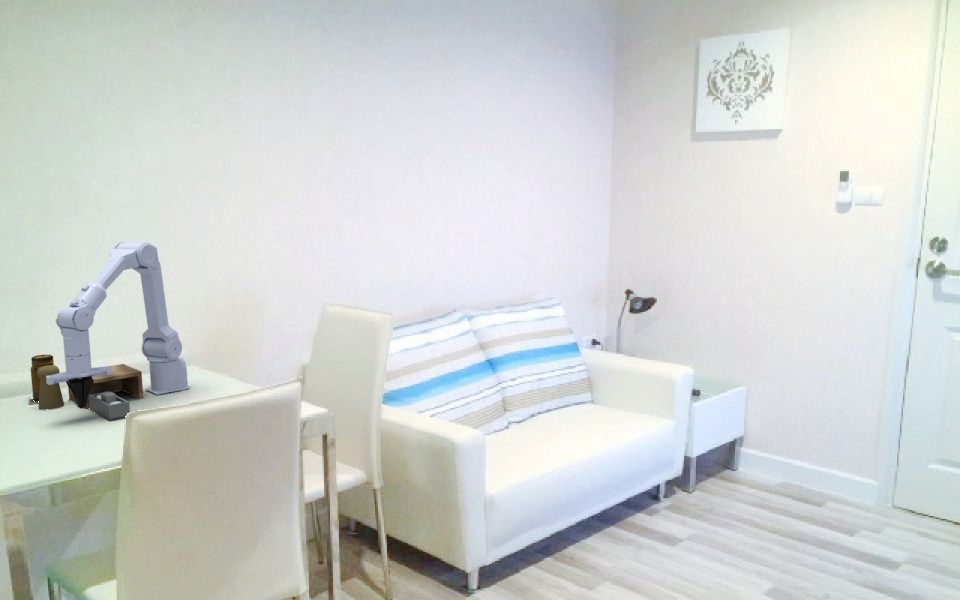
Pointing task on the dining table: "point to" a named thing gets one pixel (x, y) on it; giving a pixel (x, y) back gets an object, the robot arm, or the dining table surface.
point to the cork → (49, 389)
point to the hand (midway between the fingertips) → (81, 407)
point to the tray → (109, 405)
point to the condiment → (36, 364)
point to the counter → (116, 382)
